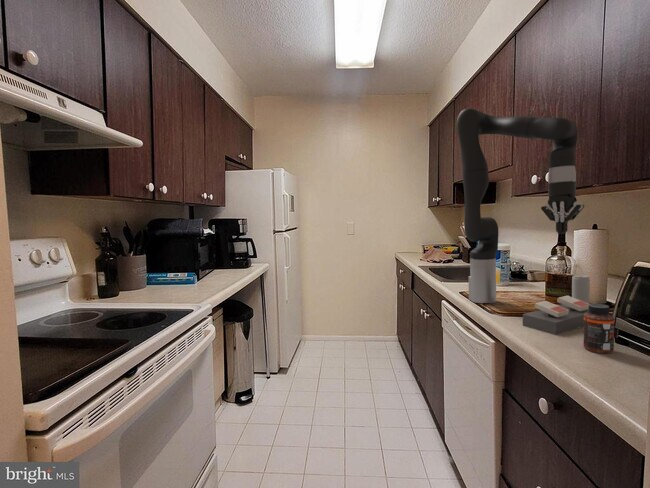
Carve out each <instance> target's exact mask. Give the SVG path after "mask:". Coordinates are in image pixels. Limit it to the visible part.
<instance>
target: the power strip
mask: <svg viewBox="0 0 650 488" xmlns="http://www.w3.org/2000/svg"><path fill="white" fill-rule="evenodd" d="M557 305H558V306H560V307H562V308H565V309H567V310H569V312H568V315H564V316H561V317H555V316H553V315H551V314H549V313H546V312H544V311H542V310H540V309H538V310H534V311H531V312H530V311H529V312H526V313H523V314H522V326H524V327H528V328H531V329H534V330H535V329H536V330H537V331H541V332H545V333H548V334H551V335H555V336H556V335H560V334H563V333H567V332H569V331H572V330H573V331H574V330H576V329H579V328H584V314H585V313H586V312H589V309H587V310H583V311H578V310H576V309H573V308H571V307H568V306H566V305H564V304H557Z"/></svg>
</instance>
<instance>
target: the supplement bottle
mask: <svg viewBox="0 0 650 488" xmlns="http://www.w3.org/2000/svg"><path fill="white" fill-rule="evenodd" d="M588 309H589V312H586V313H585V314H584V326H583V347H584V349H586V350H588V351H589V352H593V353H596V354H605V355H607V354H611V353H613V352H614V349H615V317H614V316H613V315H612V314H611V313H610V306H609V305H606V304H604V303H603V304H601V303H589V308H588Z"/></svg>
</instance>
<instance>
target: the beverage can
mask: <svg viewBox="0 0 650 488" xmlns="http://www.w3.org/2000/svg"><path fill="white" fill-rule="evenodd" d="M590 281H591V280H590V276H589V275H587V274H586V275H585V274H573V275H572V277H571V297H573V298H575V299H578V300H580V301H583V302H585V303H588V304H590V297H591V295H590V285H591V283H590Z"/></svg>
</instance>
